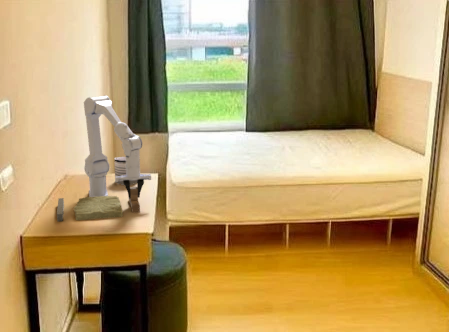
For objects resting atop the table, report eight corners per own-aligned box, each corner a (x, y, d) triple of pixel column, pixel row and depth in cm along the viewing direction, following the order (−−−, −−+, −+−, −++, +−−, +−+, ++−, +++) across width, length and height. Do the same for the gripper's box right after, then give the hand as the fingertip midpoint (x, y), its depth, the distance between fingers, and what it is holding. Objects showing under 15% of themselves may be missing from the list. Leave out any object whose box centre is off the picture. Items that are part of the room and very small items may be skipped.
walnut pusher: (129, 200, 240) (128, 182, 238) (136, 200, 241) (135, 182, 239) (132, 212, 225) (131, 193, 223) (139, 212, 226) (139, 193, 224)
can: (109, 182, 266) (108, 158, 263) (126, 177, 275) (125, 153, 272) (128, 186, 260) (127, 161, 257) (143, 180, 269) (143, 156, 266)
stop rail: (59, 205, 233) (58, 198, 232) (63, 204, 233) (63, 198, 233) (57, 221, 214) (56, 214, 213) (62, 221, 215) (62, 213, 214)
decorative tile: (118, 202, 239) (118, 194, 238) (123, 217, 221) (122, 209, 220) (74, 205, 234) (73, 197, 234) (74, 221, 216) (74, 213, 215)
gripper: (115, 169, 223) (116, 201, 226) (151, 167, 226) (152, 198, 230) (114, 164, 229) (115, 196, 233) (149, 162, 233) (150, 193, 236)
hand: (134, 197), depth 232 cm, fingers closed on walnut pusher, 3 cm apart
